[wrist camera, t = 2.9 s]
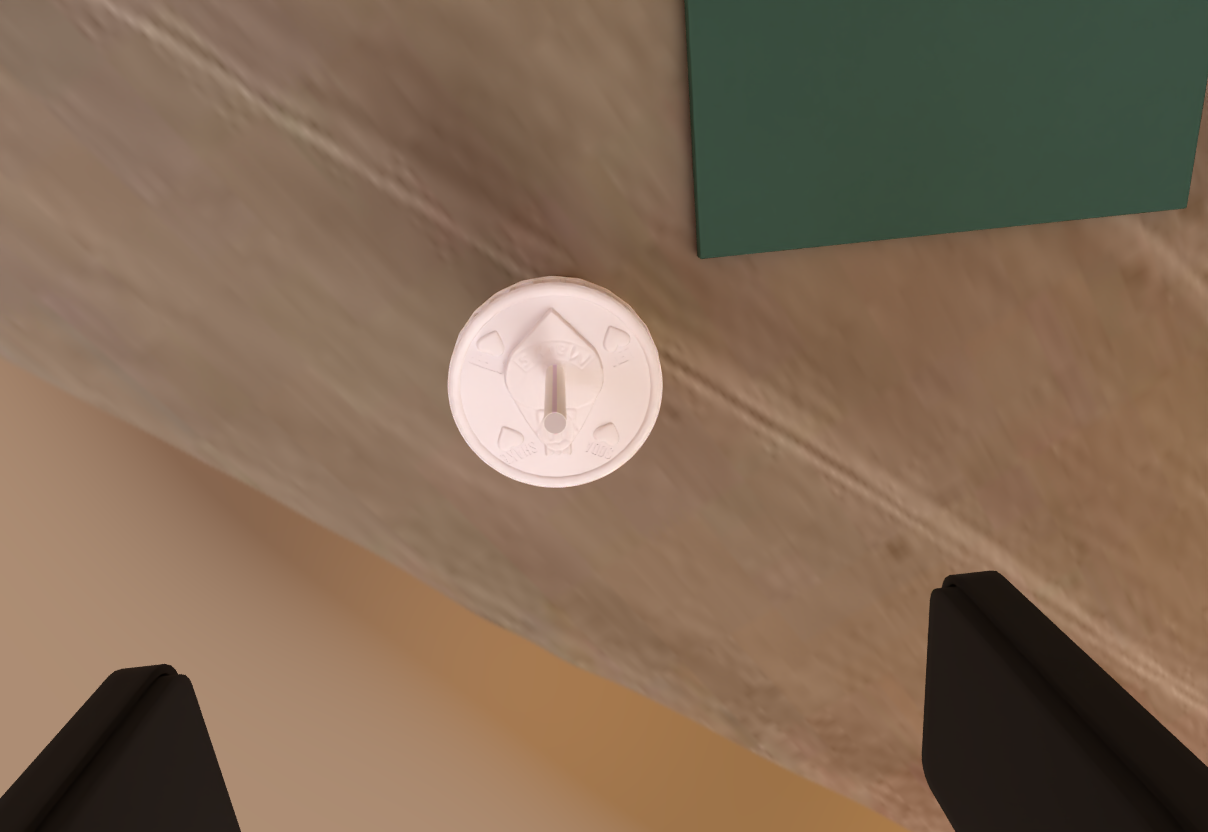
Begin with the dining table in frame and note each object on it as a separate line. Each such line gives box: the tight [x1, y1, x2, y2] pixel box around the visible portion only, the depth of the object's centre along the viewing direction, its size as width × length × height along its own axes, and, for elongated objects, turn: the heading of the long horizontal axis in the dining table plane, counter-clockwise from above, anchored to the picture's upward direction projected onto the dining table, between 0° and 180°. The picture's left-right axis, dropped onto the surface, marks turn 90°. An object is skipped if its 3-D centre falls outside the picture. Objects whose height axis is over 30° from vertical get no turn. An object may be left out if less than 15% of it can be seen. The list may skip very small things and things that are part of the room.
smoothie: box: [448, 276, 663, 487], centre depth 24 cm, size 6×6×14 cm
